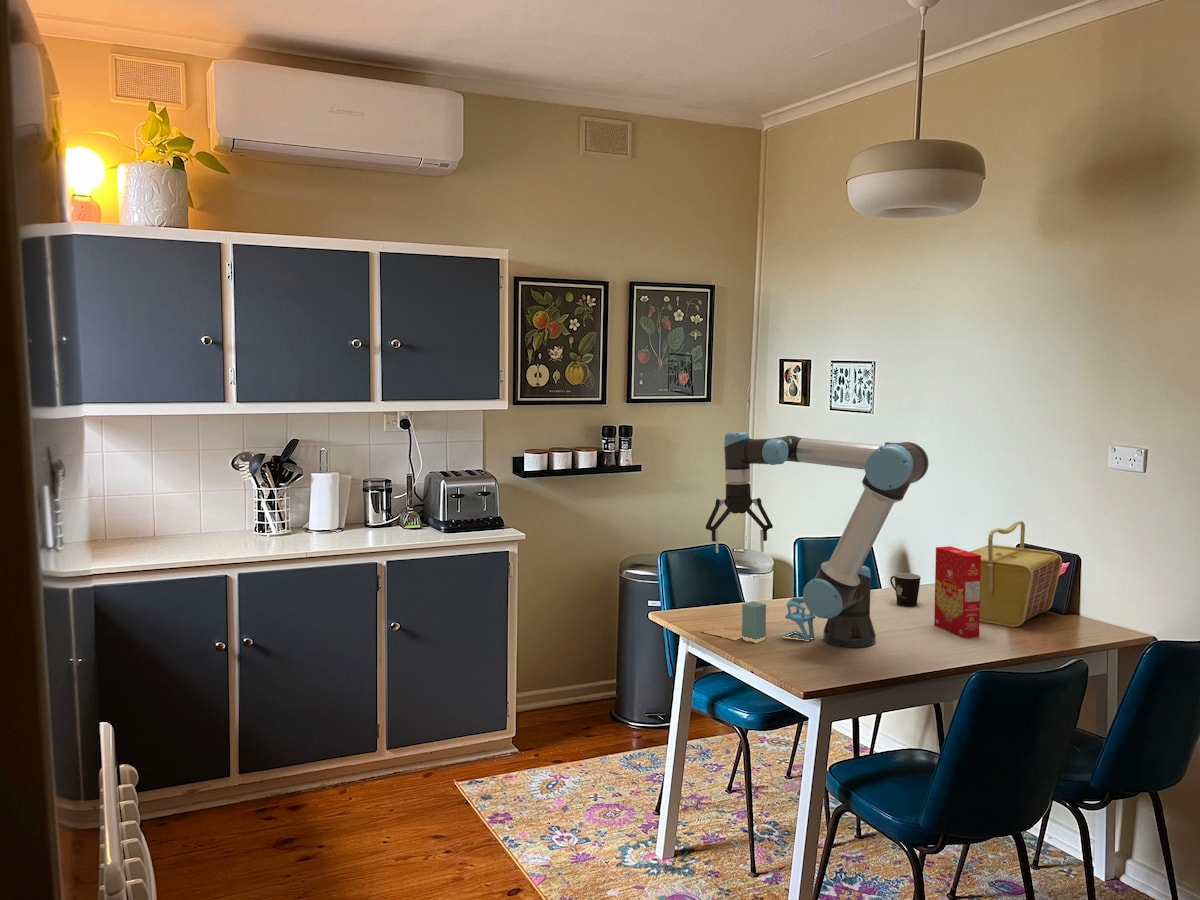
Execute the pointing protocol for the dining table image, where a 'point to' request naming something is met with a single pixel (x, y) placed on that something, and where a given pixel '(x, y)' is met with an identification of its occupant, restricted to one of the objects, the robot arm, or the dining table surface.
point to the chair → (800, 619)
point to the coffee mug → (906, 589)
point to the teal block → (754, 620)
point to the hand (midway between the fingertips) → (739, 551)
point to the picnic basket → (1016, 580)
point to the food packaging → (957, 591)
